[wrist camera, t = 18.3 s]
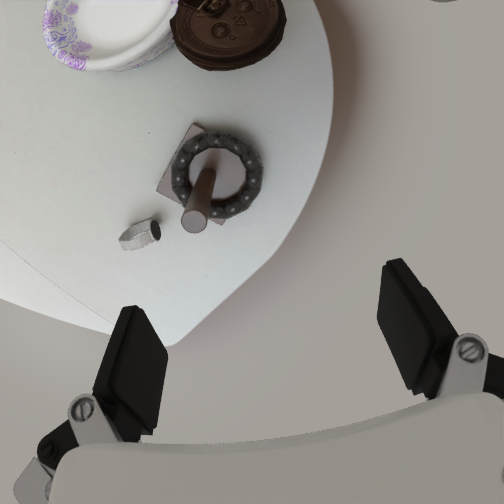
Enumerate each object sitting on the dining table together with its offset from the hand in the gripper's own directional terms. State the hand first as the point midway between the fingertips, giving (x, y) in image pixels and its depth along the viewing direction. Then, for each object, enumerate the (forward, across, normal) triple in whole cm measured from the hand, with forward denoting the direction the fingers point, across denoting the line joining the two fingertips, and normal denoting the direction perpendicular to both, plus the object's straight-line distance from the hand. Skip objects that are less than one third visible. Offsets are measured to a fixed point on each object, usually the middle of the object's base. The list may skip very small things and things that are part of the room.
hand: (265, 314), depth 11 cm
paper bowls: (+26, +9, -20) cm, 34 cm away
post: (+25, +5, +1) cm, 26 cm away
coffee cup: (+26, -1, -14) cm, 29 cm away
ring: (+23, +4, +1) cm, 23 cm away
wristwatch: (+25, +15, +6) cm, 30 cm away
